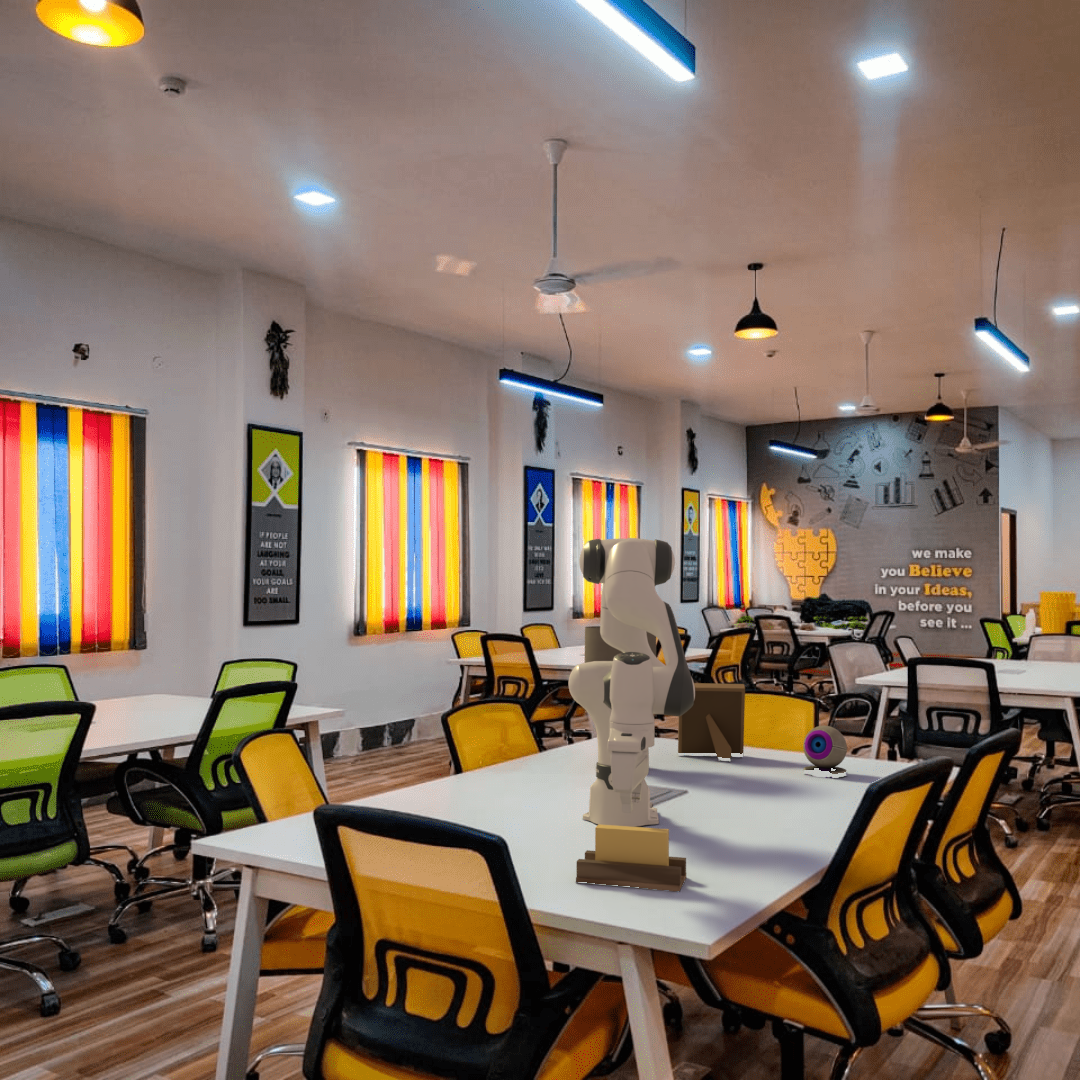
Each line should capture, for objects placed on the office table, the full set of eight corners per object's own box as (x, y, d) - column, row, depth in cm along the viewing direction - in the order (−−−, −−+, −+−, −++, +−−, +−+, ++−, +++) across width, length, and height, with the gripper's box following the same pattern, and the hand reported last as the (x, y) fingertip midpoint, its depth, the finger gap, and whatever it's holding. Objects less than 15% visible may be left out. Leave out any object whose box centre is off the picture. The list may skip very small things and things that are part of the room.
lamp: (579, 762, 342) (579, 626, 344) (647, 761, 345) (647, 626, 347) (590, 774, 320) (590, 628, 322) (663, 773, 322) (663, 628, 324)
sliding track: (587, 869, 211) (587, 849, 211) (686, 877, 206) (686, 857, 206) (575, 883, 202) (575, 862, 202) (679, 891, 196) (679, 870, 197)
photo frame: (677, 754, 360) (678, 681, 361) (742, 755, 358) (742, 682, 358) (679, 761, 345) (679, 685, 346) (746, 763, 343) (746, 687, 344)
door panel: (598, 870, 207) (598, 824, 208) (668, 875, 204) (668, 829, 204) (595, 874, 204) (595, 827, 205) (666, 880, 201) (666, 832, 201)
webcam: (796, 774, 322) (796, 725, 322) (815, 769, 331) (814, 722, 332) (836, 780, 313) (835, 729, 314) (854, 774, 323) (853, 725, 324)
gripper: (626, 727, 216) (625, 795, 216) (605, 743, 196) (605, 817, 196) (656, 729, 214) (656, 797, 214) (638, 745, 195) (638, 820, 194)
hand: (631, 807), depth 205 cm, fingers open, 8 cm apart
